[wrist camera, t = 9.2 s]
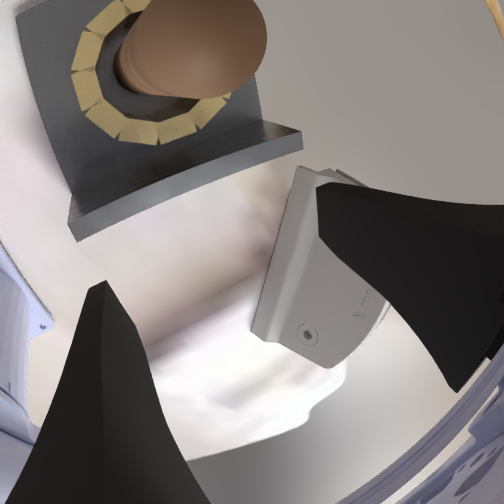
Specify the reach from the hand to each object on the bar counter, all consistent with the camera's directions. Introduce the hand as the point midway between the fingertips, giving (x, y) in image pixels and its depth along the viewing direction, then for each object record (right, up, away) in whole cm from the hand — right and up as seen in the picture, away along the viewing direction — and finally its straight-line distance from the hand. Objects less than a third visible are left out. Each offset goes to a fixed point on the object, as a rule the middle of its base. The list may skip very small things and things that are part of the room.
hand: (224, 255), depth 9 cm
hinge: (+6, 0, +18) cm, 19 cm away
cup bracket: (-5, +10, +4) cm, 12 cm away
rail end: (-5, +10, +3) cm, 11 cm away
